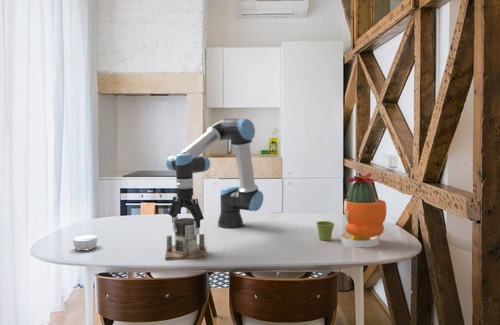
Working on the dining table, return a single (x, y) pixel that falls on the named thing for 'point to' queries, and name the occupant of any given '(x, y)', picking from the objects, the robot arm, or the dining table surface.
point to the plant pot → (325, 230)
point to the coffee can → (185, 234)
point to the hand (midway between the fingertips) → (186, 232)
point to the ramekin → (85, 242)
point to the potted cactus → (363, 214)
